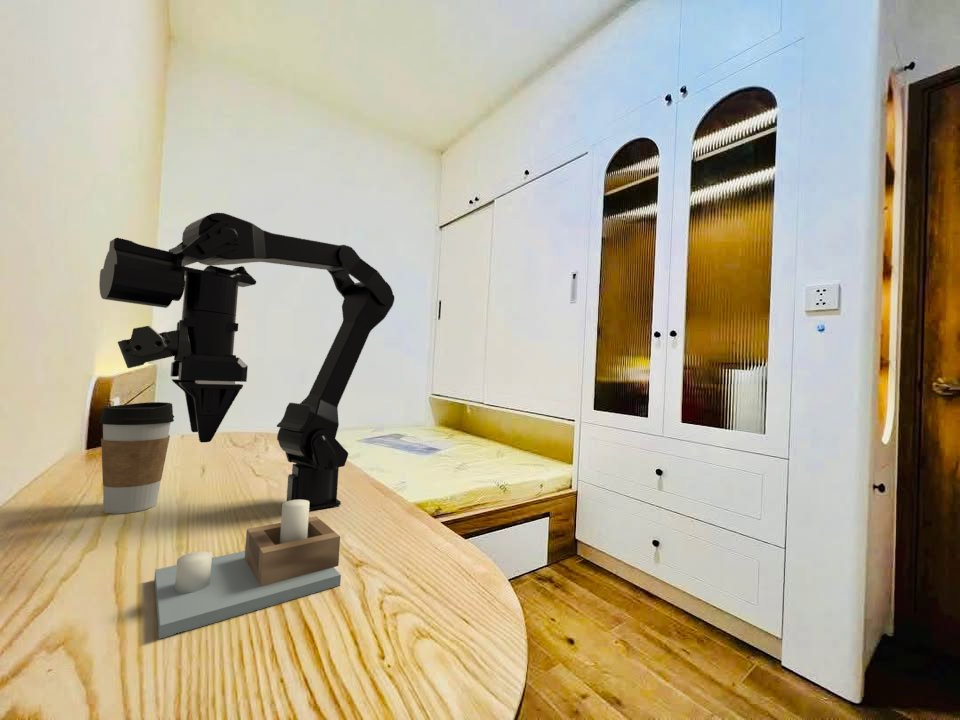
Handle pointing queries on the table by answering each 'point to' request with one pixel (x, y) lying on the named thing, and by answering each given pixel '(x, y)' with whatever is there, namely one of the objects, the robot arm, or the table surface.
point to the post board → (231, 582)
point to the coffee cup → (134, 454)
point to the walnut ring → (290, 552)
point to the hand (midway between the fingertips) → (200, 436)
